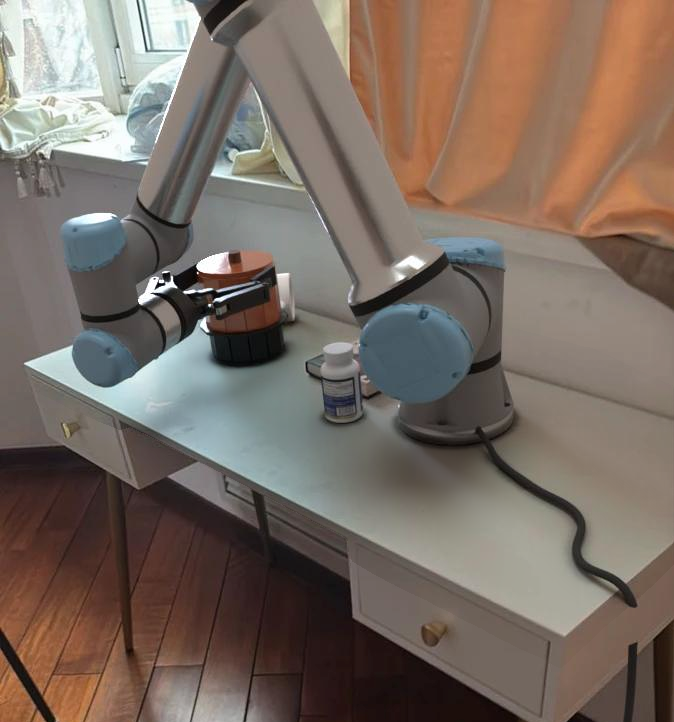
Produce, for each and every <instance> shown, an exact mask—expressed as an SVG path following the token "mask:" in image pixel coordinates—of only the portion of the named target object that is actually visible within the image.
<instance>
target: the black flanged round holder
mask: <svg viewBox="0 0 674 722" xmlns="http://www.w3.org/2000/svg"><path fill="white" fill-rule="evenodd" d="M281 312H282V314H281V317H280V319H279V320H278V321H277V322H275V323H273V324H271V325H270V326H268V327H265V328H261V329H257V330H253V331H249V332H236V333H228V332H227V333H225V332H220V331H214V330H211V329H210V328H209V327H208V326H207V325H206V321H205V317H203V318H202V320H201V323H200V324H199V329H200V330H201V332H203V333H204V334H205V335H206V336H208V337H209V341H210V347H211V352H212V358H213V360H214V361H215V362H217V364H220V365H224V366H229V367H249V366H256V365H261V364H264V363H268V362H270V361H273V360H275V359H277V358H279V357H280V356H282V354H283V353H284V352H285V350H286V346H285V339H284V332H283V326H284V325H286V323H287V322H286V321H287V318H288V313H287V312H286V311H285V310H283V309H282V308H281Z"/></svg>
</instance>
